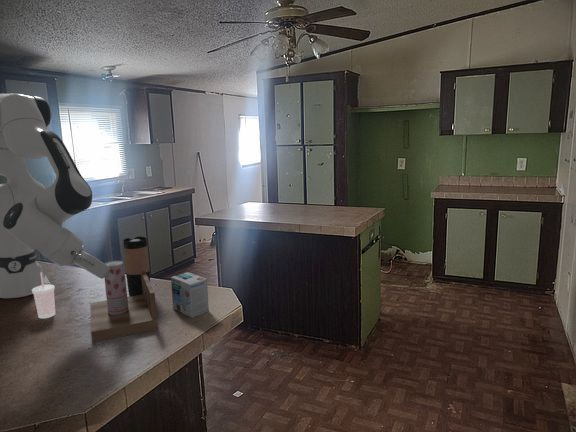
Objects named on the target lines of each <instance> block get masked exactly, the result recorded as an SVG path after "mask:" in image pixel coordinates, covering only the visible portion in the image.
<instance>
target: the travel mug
mask: <svg viewBox="0 0 576 432" xmlns="http://www.w3.org/2000/svg"><path fill="white" fill-rule="evenodd" d="M122 242H123V251H124V252H123V254H124V268H125V278H126V285H127V289H128V290H127V293H128V297H130V296H136V295H142V294H143V289H142V277H141V271H145V272H146V274H147V277H148V279H149V281H150V282H151V276H150V275H151V271H150V262H149V261H150V260H149V250H148V240H147V237H146V236H136V237H134V238H130V237H128V238H127V237H126V238H125V239H123V240H122Z"/></svg>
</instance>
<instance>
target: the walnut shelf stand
mask: <svg viewBox="0 0 576 432" xmlns="http://www.w3.org/2000/svg"><path fill="white" fill-rule="evenodd" d="M141 277H142V289H143V294H142V295H136V296H130V297H129V296H127V299H128V310H127V312H126V313H123V314H120V315H111V314H109V313H108V307H107V299H106V300H102V301H96V302H90V303H89V305H90V306H89V308H90V334H91V342H92V343H96V342H101V341H107V340H112V339H117V338H121V337H125V336H131V335H135V334H140V333H146V332H149V331H157V330H158V329H159V328H158V317H157V306H156V305H157V302H156V294H155V290H154V287H153V286H152V283H151V280H150V281H149V279H148V277H147V274H146V272H145V271H141Z"/></svg>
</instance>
